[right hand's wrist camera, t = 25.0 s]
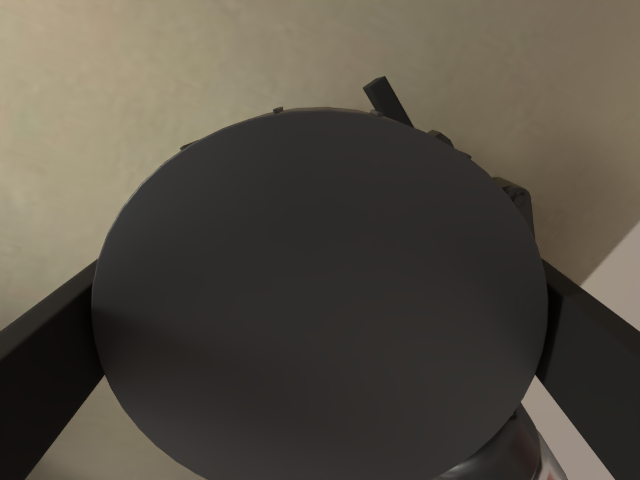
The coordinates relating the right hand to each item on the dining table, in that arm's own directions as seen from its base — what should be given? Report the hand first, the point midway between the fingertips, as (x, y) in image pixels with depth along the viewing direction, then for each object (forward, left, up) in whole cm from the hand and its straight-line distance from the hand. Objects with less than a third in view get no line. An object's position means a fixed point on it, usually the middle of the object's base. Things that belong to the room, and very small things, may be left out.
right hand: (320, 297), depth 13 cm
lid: (0, 0, +2) cm, 2 cm away
